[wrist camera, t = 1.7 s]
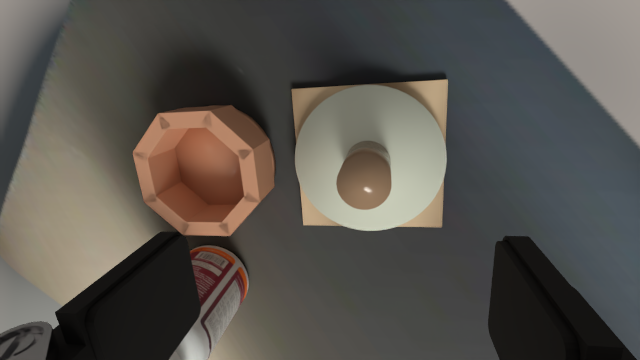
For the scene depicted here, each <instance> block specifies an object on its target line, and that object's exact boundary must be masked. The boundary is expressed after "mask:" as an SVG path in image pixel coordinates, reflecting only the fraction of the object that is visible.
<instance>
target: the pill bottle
mask: <svg viewBox="0 0 640 360" xmlns="http://www.w3.org/2000/svg"><path fill="white" fill-rule="evenodd" d="M190 256H191V261H192V266H193V270H194V275H195V280H196V285H197V290H198V295H199V300H200V304H201V312H200V316H199V318H198V319H197V321H196V322H195V324H194V325H193V326H192V328H191V329H190V331H189V332H188V333H187V335H186V336H185V338H184V339H183V340H182V342H181V343H180V345H179V346H178V347H177V349H176V350H175V352H174V353H173V354H172V356H171V357H170V359H169V360H207V359H208V358H209V356H210V354H211V353H212V351H213V349H214V348H215V346H216V344H217V343H218V341H219V339H220V338H221V336H222V334H223V333H224V331H225V329H226V328H227V326H228V324H229V323H230V321H231V319H232V318H233V316H234V315H235V313H236V311H237V310H238V308H239V306H240V305H241V303H242V301H243V299H244V298H245V296H246V294H247V291H248V286H249V279H248V274H247V271H246V269H245V267H244V265H243V264H242V262H241V261H240V260H239V259H238V258H237V256H235V255H234V254H233V253H232V252H230V251H228V250H226V249H224V248H221V247H218V246H212V245H206V246H200V247H197V248H194V249H193V250H191V251H190Z"/></svg>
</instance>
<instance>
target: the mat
mask: <svg viewBox="0 0 640 360" xmlns="http://www.w3.org/2000/svg"><path fill="white" fill-rule="evenodd" d="M364 85H382V86H388V87H392V88H395V89H398V90H400V91H403V92H405V93H407V94H408V95H410V96H412V97H413V98H415V99H416V100H417V101H419V102H420V103H421V104H422V105H423V106H424V107H425V108H426V109H427V110H428V111H429V112H430V113H431V115H432V116H433V118H434V119H435V121H436V122H437V124H438V126H439V128H440V130H441V132H442V135H443V138H444V141H445V138H446V114H447V90H448V80H447V79H445V80H429V81H413V82H396V83H380V84H364ZM354 86H360V85H347V86H331V87H314V88H298V89H291V90H292V101H293V112H294V124H295V135H296V143H297V139H298V136H299V133H300V131H301V128H302V126H303V124H304V123H305V121H306V119H307V118H308V116H309V115H310V114H311V112H312V111H313V110H314V109H315V108H316V107H317V106H318V105H319V104H320V103H322V102H323V101H324V100H325V99H327V98H328V97H330V96H332V95H334V94H335V93H337V92H339V91H342V90H344V89H347V88H350V87H354ZM443 187H444V179H443V182H442V184H441V187H440V189H439V191H438V193H437V194H436V196H435V198H434V199H433V200H432V202H431V203H430V204H429V205H428V206H427V207H426V208H425V209H424V210H423V211H422V212H421V213H420V214H419V215H417V216H416V217H415V218H413V219H411V220H410V221H408V222H406V223H404V224H402V225H399V226H397V227H442V211H443ZM300 191H301V202H302V213H303V224H304V225H334V226H343V225H340V224H338V223H336V222H334V221H332V220H331V219H329V218H327V217H326V216H325V215H323V214H322V213H321V212H320V211H319V210H318V209H317V208H316V207H315V206H314V205H313V204H312V203H311V202H310V200H309V199H308V198H307V196H306V195H305V193H304V191H303V189H302V187H301V185H300Z"/></svg>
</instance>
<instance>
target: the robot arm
mask: <svg viewBox="0 0 640 360" xmlns="http://www.w3.org/2000/svg"><path fill="white" fill-rule="evenodd" d="M200 312H201V304H200V300H199V295H198V290H197V285H196V280H195V275H194V270H193V266H192V261H191V256H190V251H189V246H188V241H187V239H186V237H184V236H182V234H181V233H180V232H160V233H158V234H157V235H156V236H154V237H153V238H152V239H150V240H149V241H148V242H146V243H145V244H144V245H143V246H141V247H140V248H139V249H137V250H136V251H135V252H133V253H132V254H131V255H129V256H128V257H127V258H126V259H124V260H123V261H122V262H120V263H119V264H118V265H116V266H115V267H114V268H112V269H111V270H110V271H109V272H107V273H106V274H105V275H103V276H102V277H101V278H99V279H98V280H97V281H95V282H94V283H93V284H92V285H90V286H89V287H88V288H86V289H85V290H84V291H82V292H81V293H80V294H78V295H77V296H76V297H75V298H73V299H72V300H71V301H69V302H68V303H67V304H65V305H64V306H63V307H61V308H60V309H59V310H58V311H56V312H55V314H56V317H57V320H58V322H59V325H58V326H57V327H56V328H55V329H52V326H51V325H50V324H49V323H47V322H42V321H40V322H31V323H27V324H23V325H19V326H17V327H14V328H11V329H9V330H7V331H5V332H3V333H1V334H0V360H169V359H170V357H171V356H172V354H173V353H174V352H175V350H176V349H177V347H178V346H179V345H180V343H181V342H182V340H183V339H184V338H185V336H186V335H187V333H188V332H189V331H190V329H191V328H192V326H193V325H194V324H195V322H196V321H197V319H198V318H199V316H200ZM488 328H489V333H490V337H491V339H492V342H493V344H494V347H495V349H496V352H497V354H498V357H499V359H500V360H637V359H636V358H635V357H634V356H633V355H632V354H631V352H630V351H629V350H628V349H627V348H626V347H625V345H624V344H623V343H622V342H621V341H620V340H619V339H618V337H617V336H616V335H615V334H614V333H613V332H612V330H611V329H610V328H609V327H608V326H607V325H606V323H605V322H604V321H603V320H602V319H601V318H600V317H599V315H598V314H597V313H596V312H595V311H594V310H593V308H592V307H591V306H590V305H589V304H588V303H587V301H586V300H585V299H584V298H583V297H582V296H581V295H580V293H579V292H578V291H577V290H576V289H575V288H573V287H572V286H571V285H570V284H569V283H568V282H567V281H566V279H565V278H564V277H563V276H562V275H561V274H560V272H559V271H558V270H557V269H556V268H555V267H554V265H553V264H552V263H551V262H550V261H549V260H548V258H547V257H546V256H545V255H544V254H543V253H542V251H541V250H540V249H539V248H538V247H537V246H536V244H535V243H534V242H533V241H532V240H531V238H529V237H528V236H505V237H504V238H503V241H497V242H496V246H495V256H494V266H493V277H492V287H491V298H490V308H489V319H488Z"/></svg>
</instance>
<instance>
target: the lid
mask: <svg viewBox="0 0 640 360" xmlns="http://www.w3.org/2000/svg"><path fill="white" fill-rule="evenodd" d="M446 162H447V159H446V147H445V141H444V138H443V135H442V132H441V130H440V128H439V126H438V124H437V122H436V121H435V119H434V118H433V116H432V115H431V113H430V112H429V111H428V110H427V109H426V108H425V107H424V106H423V105H422V104H421V103H420V102H419V101H417V100H416V99H415V98H413V97H412V96H410V95H408V94H407V93H405V92H403V91H400V90H398V89H395V88H392V87H388V86H382V85H360V86H354V87H350V88H347V89H344V90H342V91H339V92H337V93H335V94H334V95H332V96H330V97H328V98H327V99H325V100H324V101H323V102H322V103H320V104H319V105H318V106H317V107H316V108H315V109H314V110H313V111H312V112H311V114H310V115H309V116H308V118H307V119H306V121H305V123H304V124H303V126H302V128H301V131H300V133H299V136H298V139H297V143H296V150H295V166H296V172H297V176H298V180H299V183H300V185H301V187H302V189H303V191H304V193H305V195H306V196H307V198H308V199H309V200H310V202H311V203H312V204H313V205H314V206H315V207H316V208H317V209H318V210H319V211H320V212H321V213H322V214H323V215H325V216H326V217H327V218H329V219H331V220H332V221H334V222H336V223H338V224H340V225H343V226H346V227H349V228H352V229H357V230H366V231H377V230H385V229H390V228H393V227H397V226H399V225H402V224H404V223H406V222H408V221H410V220H411V219H413V218H415V217H416V216H417V215H419V214H420V213H421V212H422V211H423V210H424V209H425V208H426V207H427V206H428V205H429V204H430V203H431V202H432V200H433V199H434V198H435V196H436V194H437V193H438V191H439V189H440V187H441V184H442V182H443V179H444V175H445V171H446Z"/></svg>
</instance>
